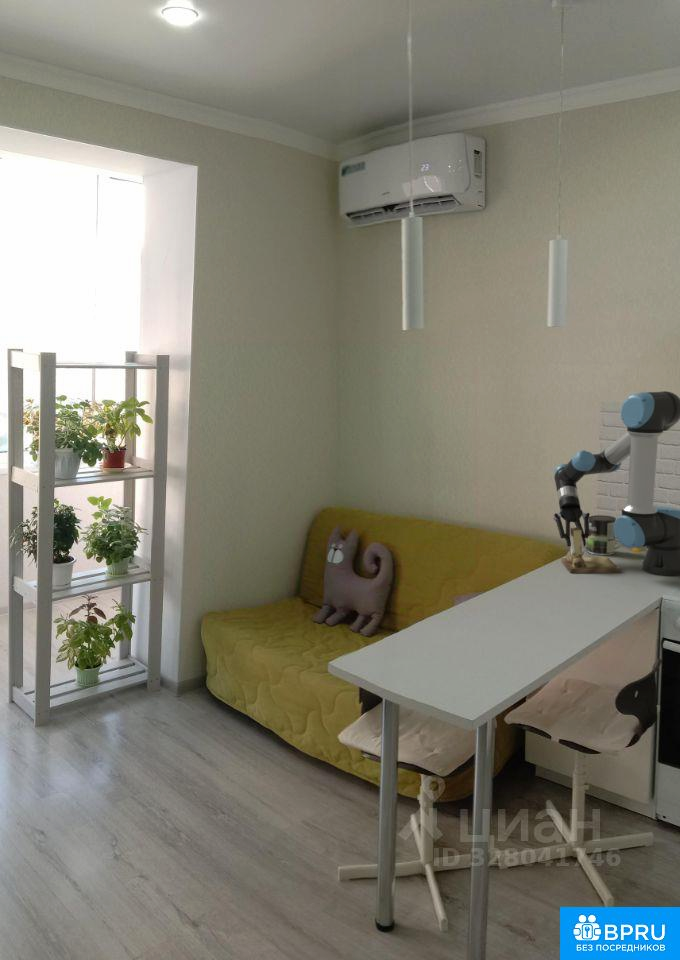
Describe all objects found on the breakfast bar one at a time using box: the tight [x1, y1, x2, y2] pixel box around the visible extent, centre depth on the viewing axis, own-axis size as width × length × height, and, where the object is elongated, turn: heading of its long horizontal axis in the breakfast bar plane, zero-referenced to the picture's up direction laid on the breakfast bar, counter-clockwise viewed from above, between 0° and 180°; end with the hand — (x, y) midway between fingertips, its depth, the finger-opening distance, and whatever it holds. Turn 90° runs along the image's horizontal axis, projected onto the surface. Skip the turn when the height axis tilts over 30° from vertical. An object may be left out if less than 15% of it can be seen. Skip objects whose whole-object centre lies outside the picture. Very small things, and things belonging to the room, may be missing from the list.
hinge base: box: [561, 550, 621, 574], centre depth 301 cm, size 18×16×5 cm
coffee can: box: [587, 514, 617, 556], centre depth 323 cm, size 10×10×14 cm
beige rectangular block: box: [569, 527, 583, 563], centre depth 301 cm, size 4×5×12 cm
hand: (578, 553), depth 297 cm, fingers closed on beige rectangular block, 3 cm apart
